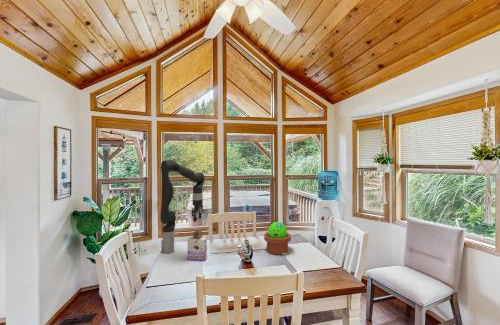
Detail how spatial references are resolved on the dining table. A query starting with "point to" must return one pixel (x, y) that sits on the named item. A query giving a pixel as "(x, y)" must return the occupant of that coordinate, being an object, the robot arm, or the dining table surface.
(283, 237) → the potted cactus
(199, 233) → the walnut cube
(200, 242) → the candy box
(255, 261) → the dining table surface
